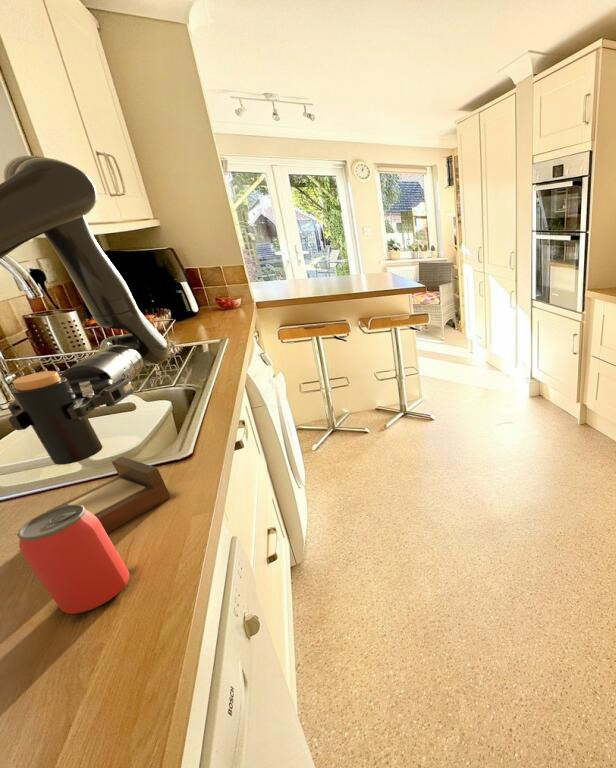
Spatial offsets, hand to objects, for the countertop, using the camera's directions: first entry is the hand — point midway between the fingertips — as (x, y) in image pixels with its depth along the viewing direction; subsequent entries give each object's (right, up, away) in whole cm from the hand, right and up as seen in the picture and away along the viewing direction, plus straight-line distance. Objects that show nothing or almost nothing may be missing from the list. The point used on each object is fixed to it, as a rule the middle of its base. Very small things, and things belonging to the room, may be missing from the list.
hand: (45, 419), depth 59 cm
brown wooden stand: (+2, -16, +8) cm, 18 cm away
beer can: (+14, -22, -6) cm, 27 cm away
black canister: (-1, -6, +5) cm, 8 cm away
